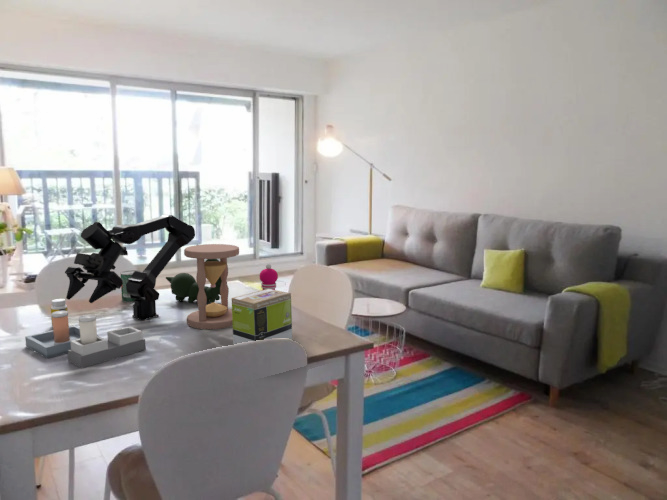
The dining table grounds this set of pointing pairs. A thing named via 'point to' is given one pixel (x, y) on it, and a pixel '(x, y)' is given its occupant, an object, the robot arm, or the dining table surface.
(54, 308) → the supplement bottle
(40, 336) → the parts tray
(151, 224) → the robot arm
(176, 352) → the dining table surface
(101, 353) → the block
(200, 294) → the hourglass
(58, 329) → the marked fuse
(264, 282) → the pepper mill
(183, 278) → the toy figurine
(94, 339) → the cylinder
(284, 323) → the tea box
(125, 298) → the green container
